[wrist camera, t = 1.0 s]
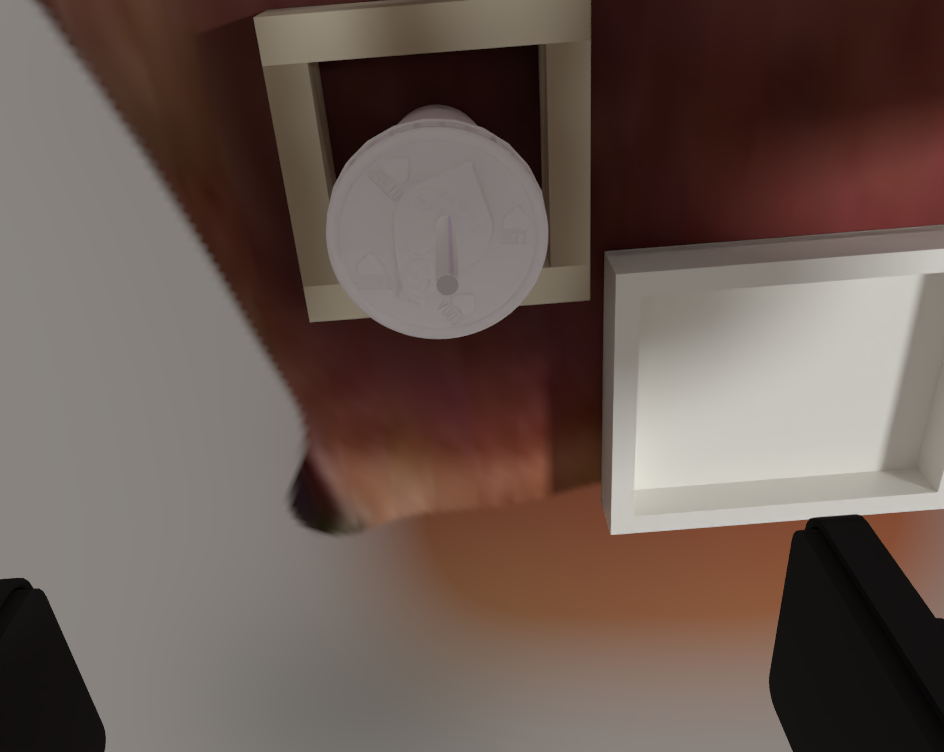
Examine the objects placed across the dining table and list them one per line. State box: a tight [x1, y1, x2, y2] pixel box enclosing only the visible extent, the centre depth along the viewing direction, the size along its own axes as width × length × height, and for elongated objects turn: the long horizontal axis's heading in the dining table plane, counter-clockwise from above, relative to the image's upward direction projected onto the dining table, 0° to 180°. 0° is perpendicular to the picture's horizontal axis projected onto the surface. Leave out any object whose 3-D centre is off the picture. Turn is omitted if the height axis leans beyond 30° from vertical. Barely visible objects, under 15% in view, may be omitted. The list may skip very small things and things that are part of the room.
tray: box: [601, 225, 944, 535], centre depth 36 cm, size 16×13×2 cm
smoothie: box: [326, 104, 548, 339], centre depth 25 cm, size 6×6×14 cm
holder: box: [253, 0, 591, 322], centre depth 30 cm, size 11×11×2 cm
